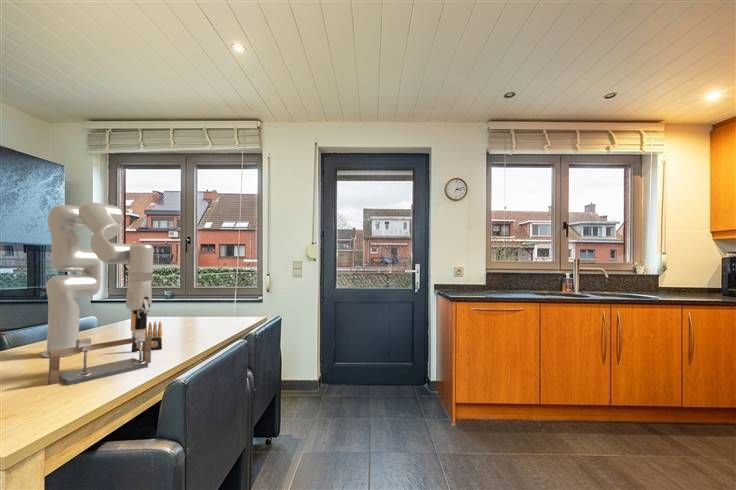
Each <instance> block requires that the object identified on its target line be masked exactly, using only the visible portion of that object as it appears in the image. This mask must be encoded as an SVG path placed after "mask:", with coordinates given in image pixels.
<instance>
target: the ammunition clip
mask: <svg viewBox="0 0 736 490" xmlns="http://www.w3.org/2000/svg"><path fill="white" fill-rule="evenodd" d="M157 325H158V328H157ZM152 327H153V328H152ZM162 327H163V326H162V321H161V320H159V322H158V324H157V322H156V321H154V322H153V325H152V321H149V323H148V326H147V330H145V336H148V335H151V336H152V340H151V350H152V351H159V350H162V349H163V329H162ZM139 350H140V342H137V343H131V353H138V352H137V351H139ZM142 352H143V342H142Z"/></svg>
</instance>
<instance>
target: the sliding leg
mask: <svg viewBox="0 0 736 490" xmlns="http://www.w3.org/2000/svg"><path fill="white" fill-rule="evenodd" d="M136 318H137V313H133V314H130V331H131V338H135V343H137V342H140V350H139V352H138V353H139V354H138V355H139V356H138V357H139V359H138V360H139V361H143V351H142V342H143V341H145V330H147V331H148V321H147V322H146V329H139V330H136Z"/></svg>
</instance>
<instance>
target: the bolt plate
mask: <svg viewBox="0 0 736 490" xmlns="http://www.w3.org/2000/svg"><path fill="white" fill-rule="evenodd" d="M145 362H146V361H143V360H141V361H139V359H137V358H135V357H132V358H127V359H123V360H118V361H113V362H109V363H103V364H98V365H93V366H87V371H86V372H83V367H82V368H77V369H72V370H69V371H62V372H59V381H61V382H63V383H64V384H66V385H67V386H71V385H76V384H80V383H85V382H89V381H93V380H98V379H102V378H106V377H110V376H115V375H119V374H120V375H121V374H123V373H124V374H125V373H129V372H133V371H137V370H142V369H145V368H149V363H145Z"/></svg>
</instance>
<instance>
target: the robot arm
mask: <svg viewBox="0 0 736 490" xmlns="http://www.w3.org/2000/svg"><path fill="white" fill-rule="evenodd" d="M123 219H124V215H123V211H122V210H121V209H120V207H118V206H116V205H113V204H108V203H107V204H105V203H101V202H86V203H83V204H81V205H80V206H79V205H78V206H77V205H72V204H70V205H69V204H59V205H58V204H57V205H55V206H53V207H51V209H50V210H49V211H48V214H47V226H48V230H49V232H50V237H51V267H52V268H53V270H55V271H57V272H81V274H62V275H61V274H60V275H56V276H55V275H54V276H52V277H51V278H50V279H48V280H47V282H46V285H45V288H46V289H45V290H46V295H47V303H48V305H47V306H48V309H47V310H48V312H47V332H46V333H47V334H46V337H47V338H46V350H44V351H43V352H41V353H40V356H41V357H42V358H50V357H49V351H55V350H61V349H67V348H74V347H76V339H79V334H80V306H79V304H78V303H77V302H76V300H74V299H77V298H86V297H87V298H88V297H93V296H96V295H97V294H98V293H99V292H100V290H101V279H102V278H101V273H102V272H101V266H102V265H101V262H103V263H104V264H107V265H128V267H127V268H128V273H127V283H128V285H127V289H126V291H127V292H126V299H125V300H126V301H125V307H126V309H129V310H130V312H131V314H133V313H137V318H136V330H139V329H146V322H147V323H148V313H150V309H151V308H152V300H153V299H152V298H153V296H152V295H153V294H152V292H153V291H152V282H153V278H154V277H153V276H154V275H153V274H154V273H153V272H154V249H155V248H154V246H153V245H151V244H149V243H147V244H145V243H135V244H134V243H133V244H132V243H119V242H118V243H115V242H110V241H109V240H111V239H113V238H115V237H116V236H117V235H118V234H119V232H120V229H121V228H120V224H121V223H122V221H123ZM72 227H75V228H85V229H86V228H87V229H89V230H90V231H91V233H92V236H91V239H90V248H91V249H89V248H80V238H79V236H78V234H77V232H76V231H75V230H74V229H73V228H72ZM131 314H130V315H131ZM80 353H81V352H79V353H73V354H67V355H61V356H60V358H62V357H68V356H71V355H72V356H73V355H76V354H80Z"/></svg>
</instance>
